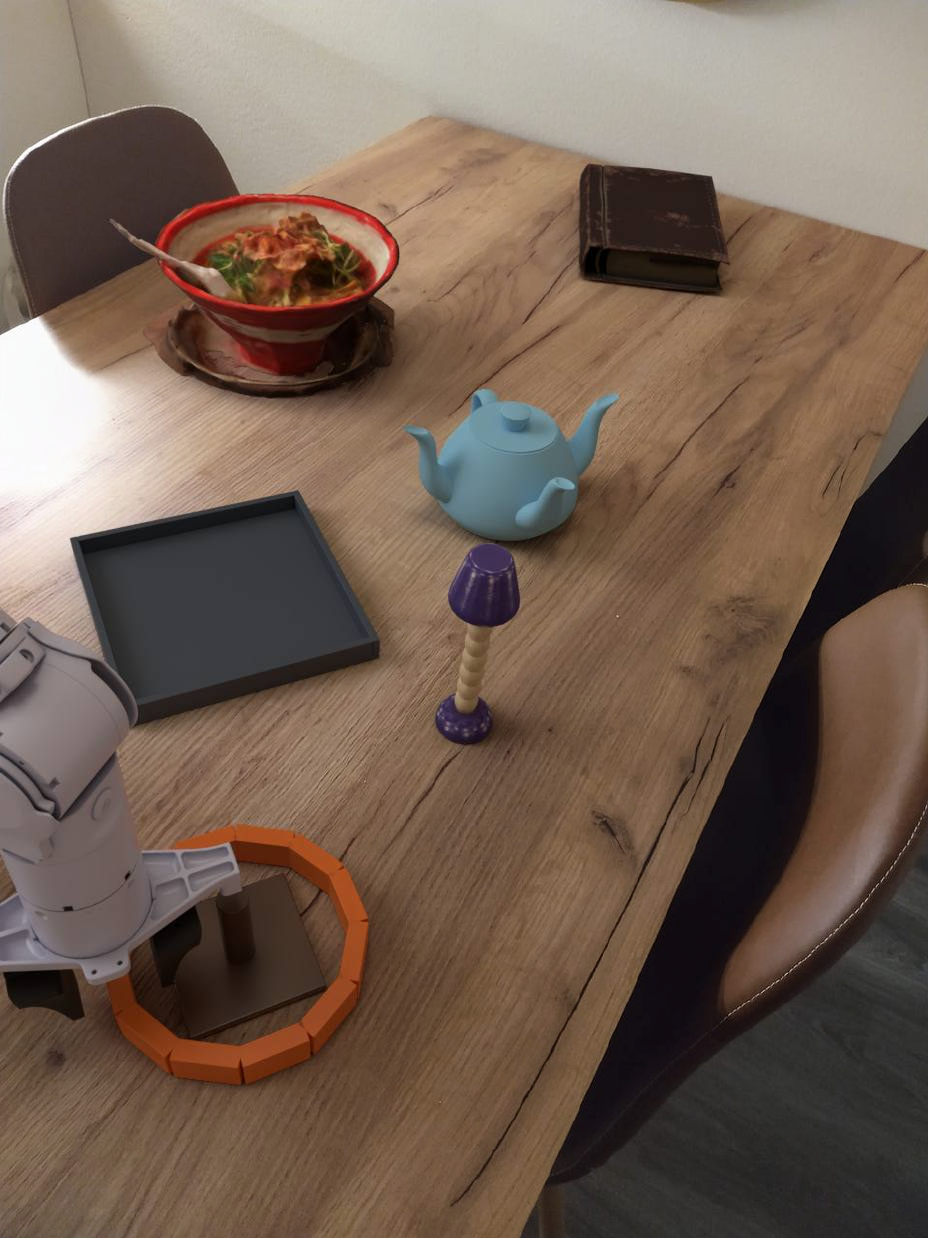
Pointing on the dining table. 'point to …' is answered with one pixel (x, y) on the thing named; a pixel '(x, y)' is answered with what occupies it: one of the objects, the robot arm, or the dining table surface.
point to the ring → (285, 1043)
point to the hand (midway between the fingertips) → (120, 986)
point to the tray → (220, 603)
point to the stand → (246, 958)
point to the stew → (275, 291)
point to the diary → (650, 228)
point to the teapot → (508, 467)
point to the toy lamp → (477, 636)
